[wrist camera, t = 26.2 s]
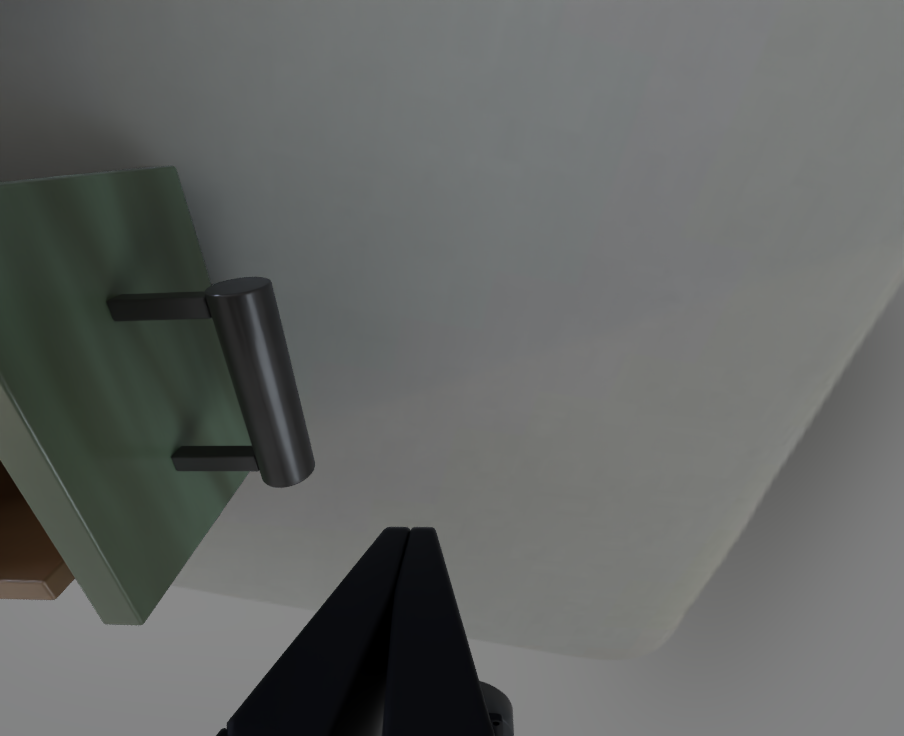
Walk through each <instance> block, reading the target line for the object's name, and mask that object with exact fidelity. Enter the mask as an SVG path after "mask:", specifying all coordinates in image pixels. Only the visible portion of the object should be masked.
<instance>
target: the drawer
mask: <svg viewBox="0 0 904 736" xmlns="http://www.w3.org/2000/svg"><path fill="white" fill-rule="evenodd" d="M314 468H315V460H314V456H313V452H312V448H311V444H310V440H309V435H308V431H307V427H306V423H305V419H304V415H303V411H302V406H301V402H300V398H299V394H298V390H297V386H296V381H295V377H294V373H293V369H292V365H291V361H290V356H289V352H288V348H287V344H286V340H285V336H284V332H283V327H282V323H281V319H280V315H279V311H278V307H277V302H276V298H275V294H274V290H273V286H272V282H271V281H270V280H269V279H267V278H263V277H244V278H236V279H231V280H226V281H223V282H219V283H216V284H214V285H211V282H210V279H209V275H208V272H207V269H206V266H205V262H204V259H203V256H202V252H201V249H200V246H199V243H198V239H197V236H196V233H195V229H194V226H193V223H192V219H191V216H190V213H189V210H188V206H187V203H186V200H185V196H184V193H183V190H182V186H181V183H180V180H179V177H178V173H177V170H176V168H175V167H174V166H159V167H142V168H132V169H123V170H113V171H103V172H94V173H84V174H74V175H65V176H55V177H45V178H36V179H26V180H16V181H7V182H0V599H29V600H55V599H56V598H57V597H58V596H59V595H60V594H61V593H62V592H63V591H64V590H65V589H66V587H67V586H68V585H69V584H70V583H71V582H72V581H73V580H74V579H76V580H77V582H78V584H79V585H80V587H81V588H82V590H83V591H84V593H85V594H86V596H87V598H88V599H89V601H90V602H91V604H92V606H93V607H94V609H95V610H96V612H97V614H98V615H99V617H100V618H101V620H102V621H103V623H104V624H112V625H143V624H144V623H145V621H146V620H147V618H148V617H149V615H150V614H151V613H152V611H153V609H154V608H155V607H156V605H157V604H158V602H159V601H160V600H161V598H162V597H163V595H164V594H165V592H166V591H167V590H168V588H169V587H170V585H171V584H172V582H173V581H174V579H175V578H176V577H177V575H178V574H179V572H180V571H181V569H182V568H183V567H184V565H185V564H186V562H187V561H188V559H189V558H190V557H191V555H192V554H193V552H194V551H195V549H196V548H197V546H198V545H199V544H200V542H201V541H202V539H203V538H204V536H205V535H206V534H207V532H208V531H209V529H210V528H211V526H212V525H213V523H214V522H215V521H216V519H217V518H218V516H219V515H220V513H221V512H222V511H223V509H224V508H225V506H226V505H227V503H228V502H229V501H230V499H231V498H232V496H233V495H234V493H235V492H236V490H237V489H238V488H239V486H240V485H241V483H242V482H243V480H244V479H245V478H246V476H247V475H248V473H249V472H250V471H259V470H260V473H261V476H262V479H263V481H264V482H265V483H266V484H267V485H269V486H271V487H276V488H283V487H289V486H293V485H295V484H298V483H300V482H302V481H303V480H305V479H306V478H308V477H309V476H310V475H311V473H312V472H313V470H314Z"/></svg>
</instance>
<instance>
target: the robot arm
mask: <svg viewBox="0 0 904 736" xmlns="http://www.w3.org/2000/svg"><path fill="white" fill-rule="evenodd" d="M216 736H503V716H502V715H501V714H498V713H488V710H487V707H486V703H485V700H484V697H483V693H482V690H481V686H480V683H479V679H478V676H477V672H476V669H475V665H474V662H473V658H472V655H471V652H470V648H469V644H468V641H467V637H466V634H465V630H464V627H463V623H462V620H461V616H460V613H459V610H458V606H457V603H456V599H455V596H454V592H453V589H452V585H451V582H450V578H449V575H448V571H447V568H446V564H445V561H444V557H443V554H442V550H441V547H440V543H439V540H438V536H437V533H436V530H435V529H434V528H432V527H413V528H412V529H411V530H410V529H409V528H408V527H387V528H386V529H384V530H383V531H382V533H381V534H380V535H379V536H378V538H377V539H376V540H375V541H374V542H373V544H372V545H371V546H370V547H369V549H368V550H367V551H366V552H365V554H364V555H363V556H362V557H361V558H360V560H359V561H358V562H357V563H356V565H355V566H354V567H353V568H352V570H351V571H350V572H349V573H348V574H347V576H346V577H345V578H344V579H343V581H342V582H341V583H340V584H339V586H338V587H337V588H336V589H335V590H334V592H333V593H332V594H331V595H330V597H329V598H328V599H327V600H326V602H325V603H324V604H323V605H322V606H321V608H320V609H319V610H318V611H317V613H316V614H315V615H314V616H313V618H312V619H311V620H310V621H309V623H308V624H307V625H306V626H305V627H304V629H303V630H302V631H301V632H300V634H299V635H298V636H297V637H296V638H295V640H294V641H293V642H292V643H291V645H290V646H289V647H288V648H287V650H286V651H285V652H284V653H283V654H282V656H281V657H280V658H279V660H278V661H277V662H276V663H275V664H274V666H273V667H272V668H271V669H270V670H269V672H268V673H267V674H266V675H265V677H264V678H263V679H262V680H261V681H260V683H259V684H258V685H257V686H256V688H255V689H254V690H253V691H252V693H251V694H250V695H249V696H248V698H247V699H246V700H245V701H244V702H243V704H242V705H241V706H240V707H239V709H238V710H237V711H236V712H235V713H234V715H233V716H232V717H231V718H230V720H229V721H228V722H227V729H226V728H223V729H221V730H220V731H219V733H218V734H217V735H216Z"/></svg>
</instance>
